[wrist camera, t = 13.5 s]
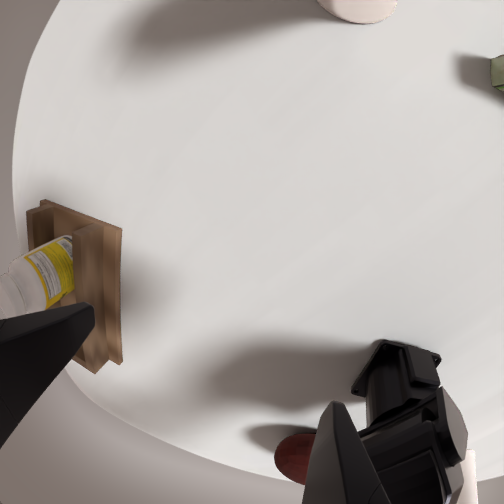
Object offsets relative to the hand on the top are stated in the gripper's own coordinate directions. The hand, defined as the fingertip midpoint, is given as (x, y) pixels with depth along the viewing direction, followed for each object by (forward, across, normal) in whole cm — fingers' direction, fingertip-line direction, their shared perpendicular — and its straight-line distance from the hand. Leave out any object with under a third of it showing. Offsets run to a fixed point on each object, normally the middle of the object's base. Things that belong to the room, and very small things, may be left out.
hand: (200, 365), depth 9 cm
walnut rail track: (+13, +19, +11) cm, 26 cm away
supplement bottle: (+12, +19, +8) cm, 24 cm away
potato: (+13, -12, +21) cm, 28 cm away
